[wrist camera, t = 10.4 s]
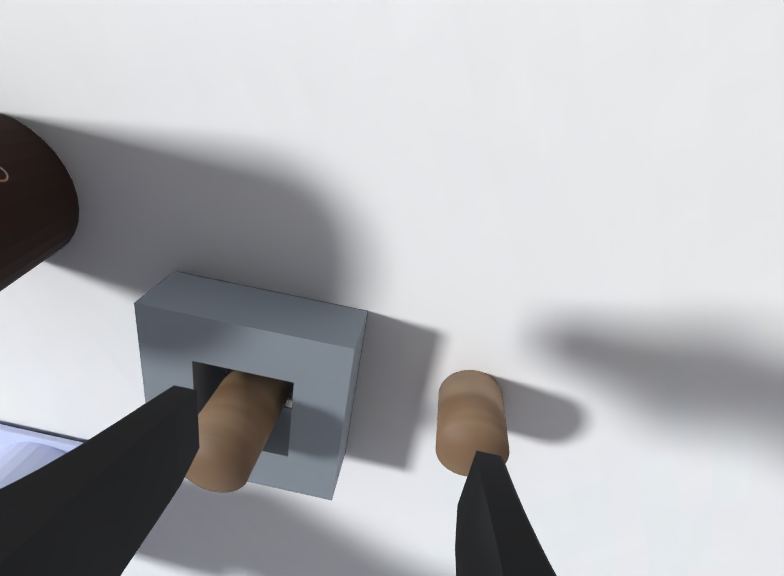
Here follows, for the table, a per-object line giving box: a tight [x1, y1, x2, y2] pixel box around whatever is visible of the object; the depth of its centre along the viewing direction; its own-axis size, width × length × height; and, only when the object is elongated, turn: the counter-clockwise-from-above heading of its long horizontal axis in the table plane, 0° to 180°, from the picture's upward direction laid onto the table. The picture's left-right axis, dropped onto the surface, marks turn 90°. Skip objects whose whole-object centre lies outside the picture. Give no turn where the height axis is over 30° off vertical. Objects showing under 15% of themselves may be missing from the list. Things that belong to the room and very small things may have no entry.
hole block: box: [134, 271, 368, 500], centre depth 22 cm, size 9×9×3 cm
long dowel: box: [185, 369, 294, 492], centre depth 21 cm, size 3×3×6 cm
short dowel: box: [436, 370, 509, 476], centre depth 21 cm, size 3×3×4 cm
